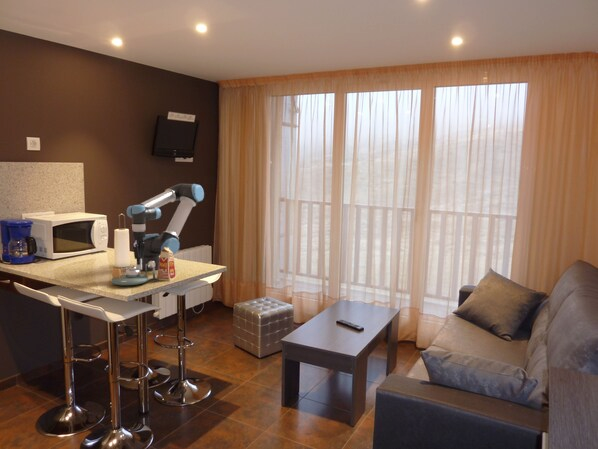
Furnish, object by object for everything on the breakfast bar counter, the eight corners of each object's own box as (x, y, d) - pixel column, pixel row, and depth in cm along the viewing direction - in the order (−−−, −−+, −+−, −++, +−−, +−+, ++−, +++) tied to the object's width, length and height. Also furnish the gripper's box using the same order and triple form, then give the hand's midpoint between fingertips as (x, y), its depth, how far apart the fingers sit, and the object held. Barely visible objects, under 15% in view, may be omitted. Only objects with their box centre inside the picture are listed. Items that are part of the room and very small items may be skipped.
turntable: (121, 275, 276) (121, 265, 275) (153, 277, 275) (153, 266, 274) (104, 284, 257) (104, 272, 256) (139, 285, 255) (139, 274, 254)
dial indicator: (149, 279, 275) (149, 259, 273) (158, 280, 275) (158, 260, 273) (145, 281, 270) (145, 261, 268) (155, 282, 269) (154, 262, 268)
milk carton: (170, 280, 274) (169, 247, 271) (155, 279, 276) (155, 247, 273) (177, 277, 283) (176, 245, 280) (163, 276, 285) (162, 244, 282)
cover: (129, 274, 274) (129, 265, 273) (142, 275, 273) (142, 265, 272) (123, 277, 266) (123, 268, 265) (136, 278, 265) (136, 268, 264)
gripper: (137, 229, 282) (138, 266, 284) (127, 232, 269) (128, 271, 272) (149, 229, 281) (149, 267, 284) (140, 232, 268) (140, 272, 271)
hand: (139, 269), depth 278 cm, fingers closed
